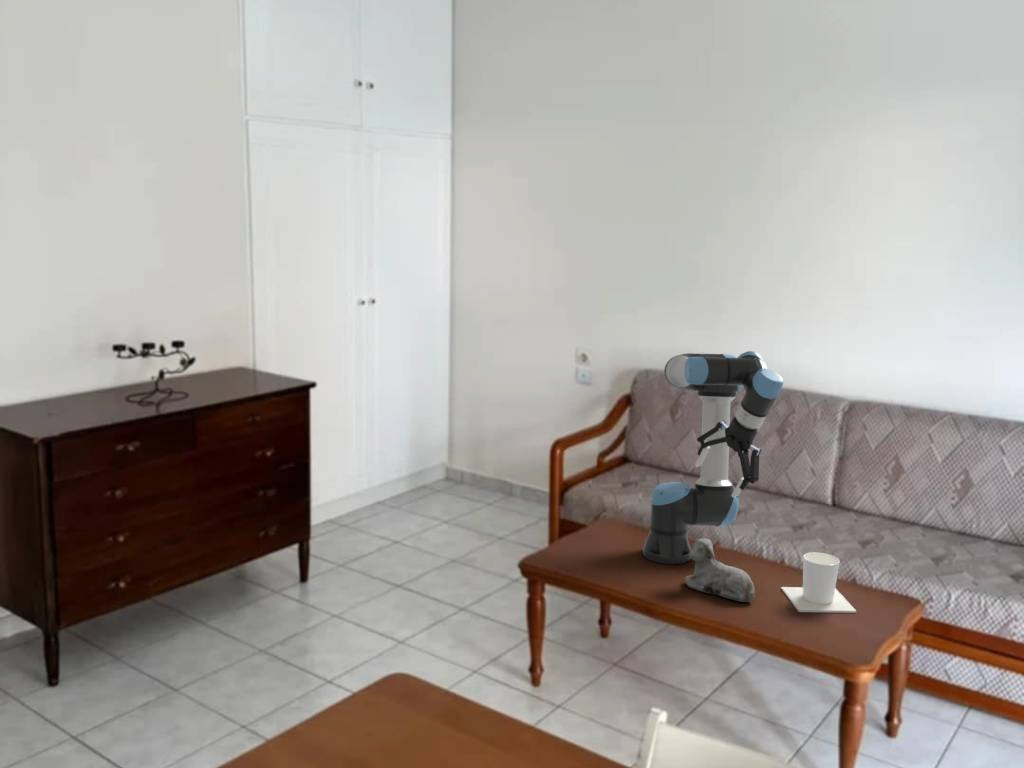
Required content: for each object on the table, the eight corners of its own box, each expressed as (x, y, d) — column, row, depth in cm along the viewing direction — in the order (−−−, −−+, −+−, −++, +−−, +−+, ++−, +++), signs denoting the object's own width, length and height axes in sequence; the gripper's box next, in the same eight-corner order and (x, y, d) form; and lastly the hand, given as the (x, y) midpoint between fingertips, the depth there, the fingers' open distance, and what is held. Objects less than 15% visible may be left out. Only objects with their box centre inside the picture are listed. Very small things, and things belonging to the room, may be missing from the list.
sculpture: (686, 580, 279) (690, 532, 276) (758, 593, 270) (763, 544, 268) (678, 593, 269) (681, 543, 266) (752, 607, 261) (756, 556, 258)
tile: (781, 588, 274) (781, 586, 274) (835, 589, 275) (835, 588, 274) (799, 611, 258) (799, 609, 258) (856, 613, 259) (856, 610, 259)
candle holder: (799, 589, 272) (803, 550, 270) (835, 594, 270) (839, 554, 268) (799, 602, 263) (803, 562, 261) (836, 607, 260) (840, 566, 258)
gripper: (704, 397, 256) (675, 456, 267) (776, 452, 243) (743, 512, 254) (719, 392, 261) (690, 450, 272) (791, 445, 248) (758, 504, 259)
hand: (716, 480), depth 263 cm, fingers open, 13 cm apart
